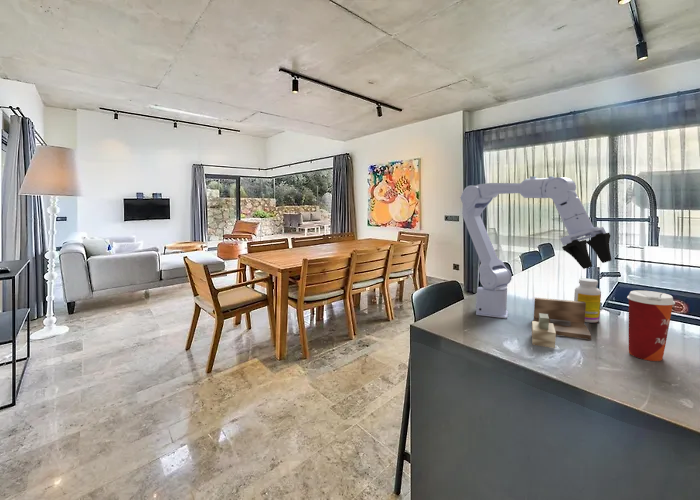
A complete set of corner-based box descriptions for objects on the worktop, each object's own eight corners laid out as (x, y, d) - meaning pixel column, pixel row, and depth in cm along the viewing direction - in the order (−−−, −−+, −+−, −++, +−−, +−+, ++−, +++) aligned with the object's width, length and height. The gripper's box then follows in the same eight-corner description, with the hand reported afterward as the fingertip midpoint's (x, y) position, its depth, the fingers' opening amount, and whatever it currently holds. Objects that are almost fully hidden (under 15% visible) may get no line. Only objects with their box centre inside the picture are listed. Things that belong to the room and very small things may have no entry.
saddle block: (532, 344, 84) (533, 318, 84) (531, 334, 91) (532, 310, 90) (555, 348, 82) (556, 321, 81) (552, 337, 89) (553, 312, 88)
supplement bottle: (603, 324, 98) (606, 282, 96) (579, 323, 99) (581, 281, 98) (592, 316, 104) (594, 277, 103) (569, 316, 106) (571, 277, 104)
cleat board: (535, 332, 93) (536, 307, 92) (533, 319, 103) (534, 297, 102) (591, 339, 87) (592, 313, 86) (583, 325, 97) (584, 301, 96)
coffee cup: (674, 366, 71) (681, 300, 70) (626, 358, 76) (631, 296, 74) (663, 352, 78) (669, 291, 77) (619, 345, 83) (624, 288, 81)
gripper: (569, 215, 82) (593, 266, 79) (606, 207, 87) (631, 254, 83) (546, 226, 88) (568, 273, 85) (582, 218, 93) (604, 262, 90)
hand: (597, 264), depth 85 cm, fingers open, 7 cm apart
